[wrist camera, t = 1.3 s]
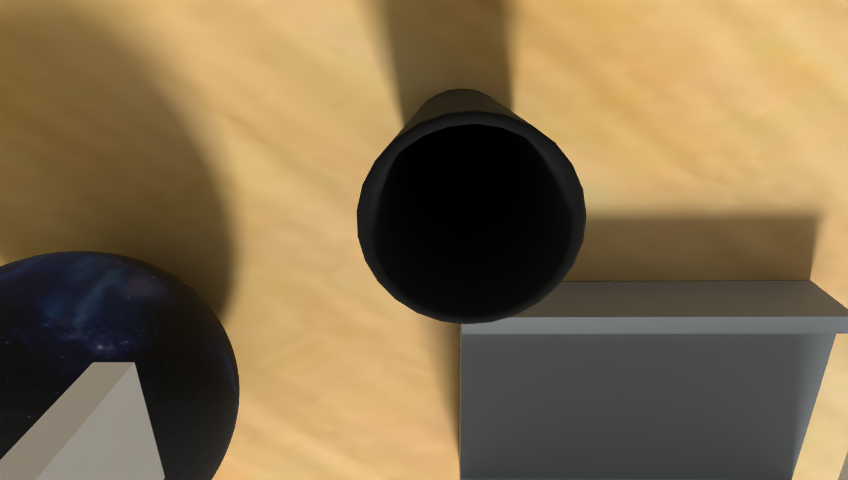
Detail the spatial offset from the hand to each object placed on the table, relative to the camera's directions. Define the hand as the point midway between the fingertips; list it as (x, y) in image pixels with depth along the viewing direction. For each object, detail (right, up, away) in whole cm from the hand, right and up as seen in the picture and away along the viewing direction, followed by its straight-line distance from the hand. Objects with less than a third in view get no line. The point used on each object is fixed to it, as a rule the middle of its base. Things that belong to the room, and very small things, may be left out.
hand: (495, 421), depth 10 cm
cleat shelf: (+11, -5, +25) cm, 28 cm away
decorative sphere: (-18, -2, +25) cm, 31 cm away
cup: (+1, +9, +20) cm, 22 cm away
